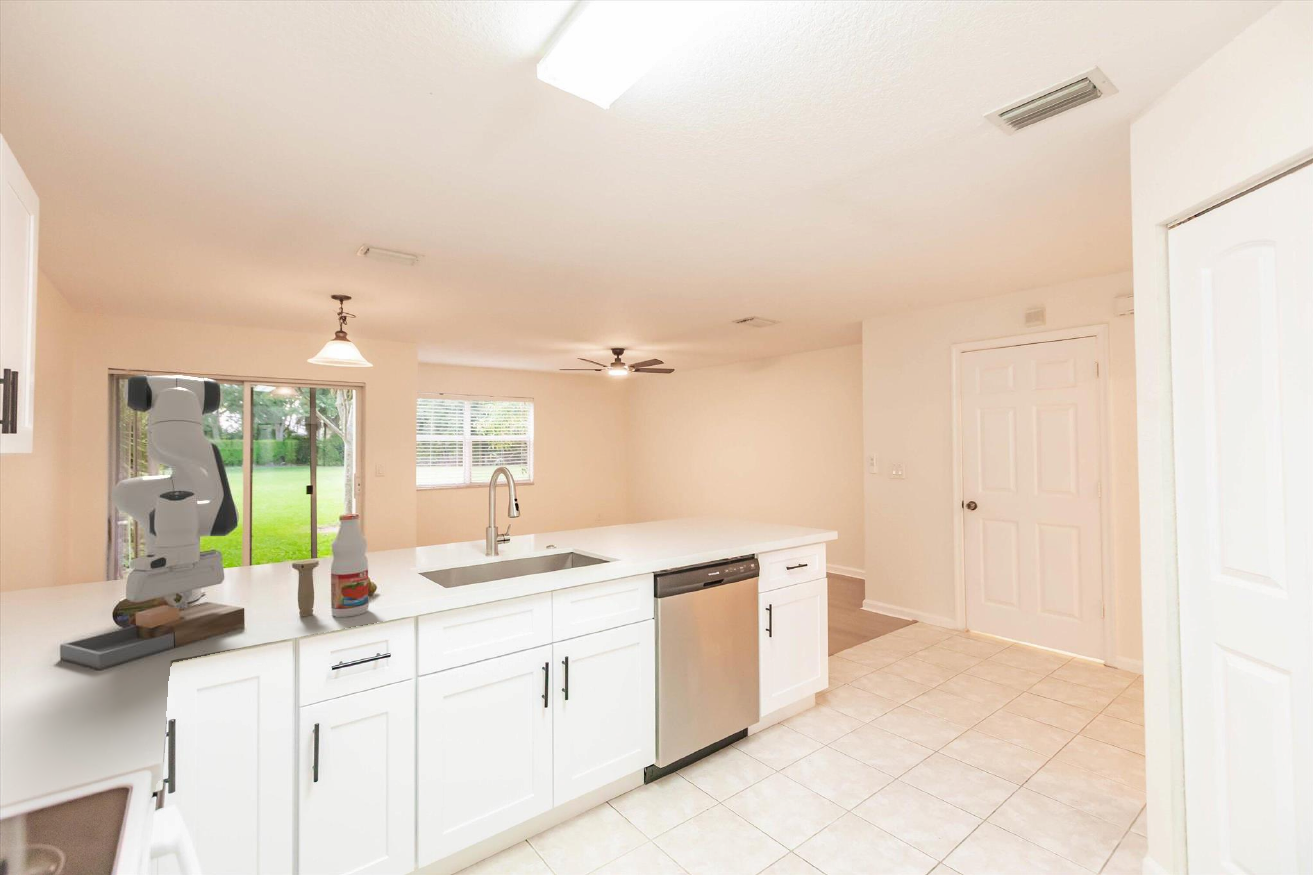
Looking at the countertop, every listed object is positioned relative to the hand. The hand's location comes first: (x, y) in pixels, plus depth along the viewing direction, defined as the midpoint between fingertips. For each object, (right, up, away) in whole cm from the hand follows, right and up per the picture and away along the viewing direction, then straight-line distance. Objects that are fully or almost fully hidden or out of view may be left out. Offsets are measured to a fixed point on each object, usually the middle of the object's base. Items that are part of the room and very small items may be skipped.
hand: (178, 610), depth 146 cm
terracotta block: (-2, -2, -4) cm, 5 cm away
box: (-5, -7, -11) cm, 14 cm away
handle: (+22, -7, +17) cm, 29 cm away
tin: (-16, -7, +10) cm, 20 cm away
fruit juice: (+33, -7, +19) cm, 39 cm away
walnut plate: (+1, -7, +3) cm, 7 cm away
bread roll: (+26, -7, +35) cm, 44 cm away
